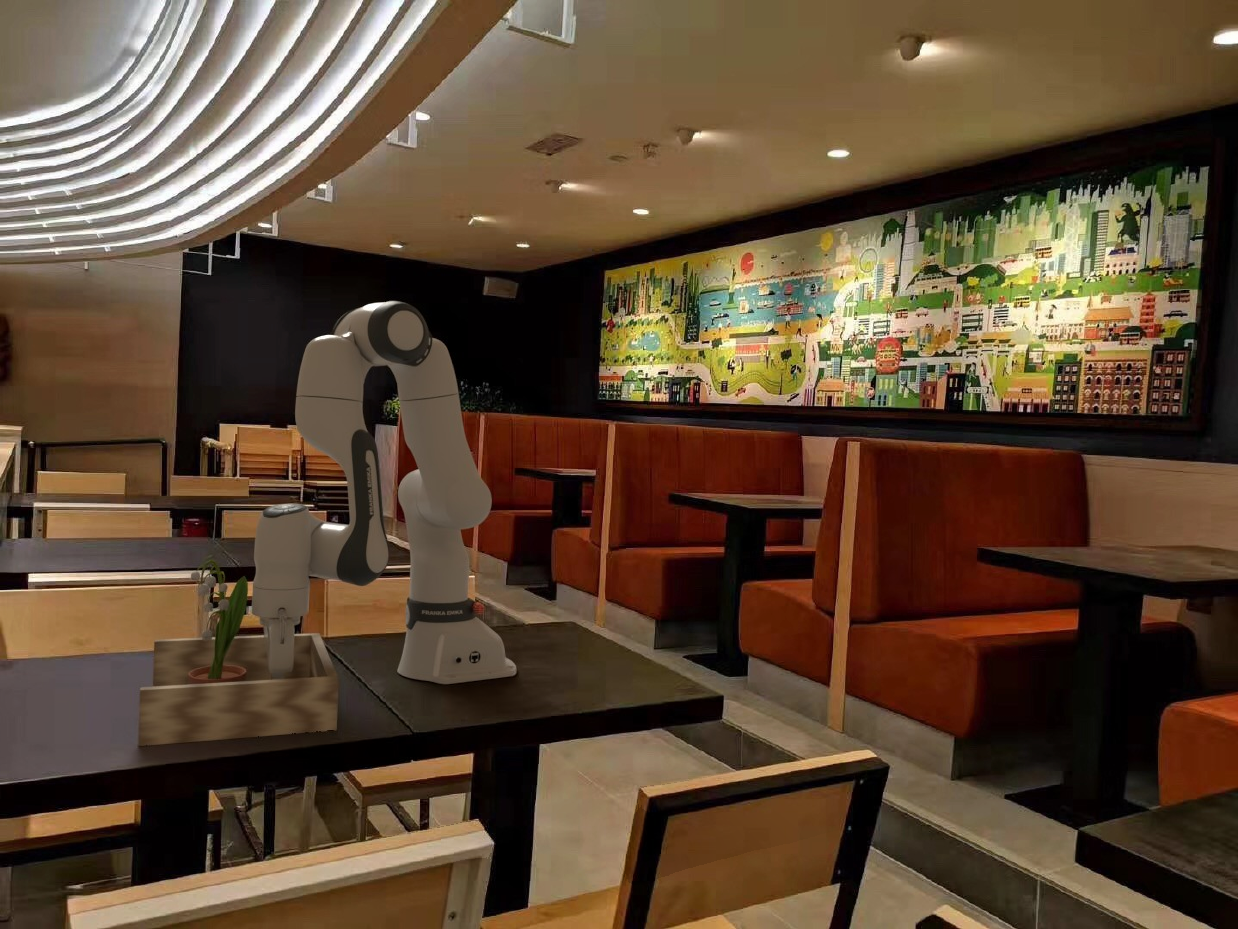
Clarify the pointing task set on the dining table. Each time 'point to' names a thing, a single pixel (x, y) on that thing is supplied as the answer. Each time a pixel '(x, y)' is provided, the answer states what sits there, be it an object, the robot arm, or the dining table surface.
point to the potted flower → (221, 627)
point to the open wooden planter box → (237, 693)
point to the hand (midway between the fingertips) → (276, 686)
